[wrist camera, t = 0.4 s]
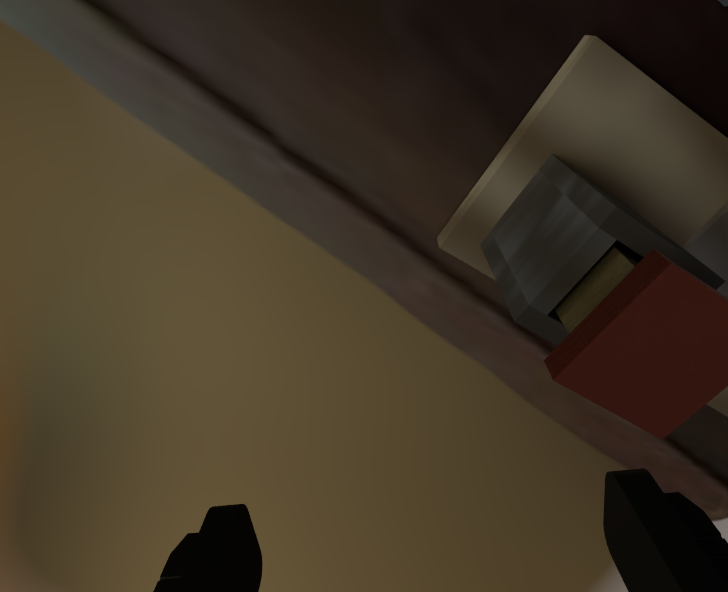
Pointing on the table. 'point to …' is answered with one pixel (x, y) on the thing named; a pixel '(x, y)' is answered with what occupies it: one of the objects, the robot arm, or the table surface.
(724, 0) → the block
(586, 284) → the block
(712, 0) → the table surface
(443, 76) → the table surface
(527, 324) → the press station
